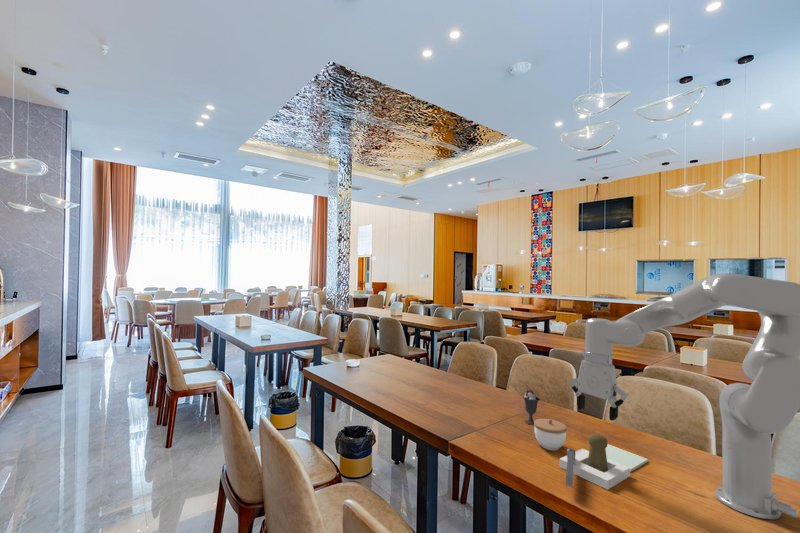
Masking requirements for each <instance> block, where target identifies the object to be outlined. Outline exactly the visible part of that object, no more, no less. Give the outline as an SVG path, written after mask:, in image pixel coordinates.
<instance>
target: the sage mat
mask: <svg viewBox="0 0 800 533" xmlns="http://www.w3.org/2000/svg"><path fill="white" fill-rule="evenodd" d="M605 449H606V457H607V459H609V460H612V461H614V462H617V463H619V464H622V465H624V466H626V467H629V468H630V473H631V472H633V471H635V470H636V469H638V468H640V467H642V466H643V465H645V464H646V463H648V462H649V459H648V458H645V457H644V456H642V455H641V456H640V455H638V454H636V453H634V452H633V453H632V452H630V451H627V450H625V449H622V448H619V447H617V446H614V445H611V444H609V443H608V445H607V447H606V448H605Z"/></svg>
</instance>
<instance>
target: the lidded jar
mask: <svg viewBox="0 0 800 533" xmlns="http://www.w3.org/2000/svg"><path fill="white" fill-rule="evenodd" d="M533 421H534V425H533V426H534V430H533V431H534V436H535V438H536V440H537V442H538V443H539V445H540V447H542V448H543V449H545V450H548V451H559V450H560V448H562V447H563V445H565V443H566V439H567V430H568V427H567V425H566V424H565V423H563V422H561V421H558V420H555V419H552V418H537V419H535V420H533Z"/></svg>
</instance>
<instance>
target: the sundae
mask: <svg viewBox="0 0 800 533" xmlns="http://www.w3.org/2000/svg"><path fill="white" fill-rule="evenodd" d="M525 387H526V391H525V392H526V393H524V395H523V396H522V398H523V400H524V405H525V406H524V407H525V411H526V413H528V416H529V417H528V419H526V420H524V421H525V422H526V423H525V422H524V423H525V424H527V423H528V424H527V425H530V424H534V421H535V420H534V419H533V415H534V414H535V413H536V412H537V409H538V403H539V401H541V399H540V397H539V395H540V394H539V393H538V395H537V393H535V391H533V390H531V389H530V387H529V386H528V385H525Z"/></svg>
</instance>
